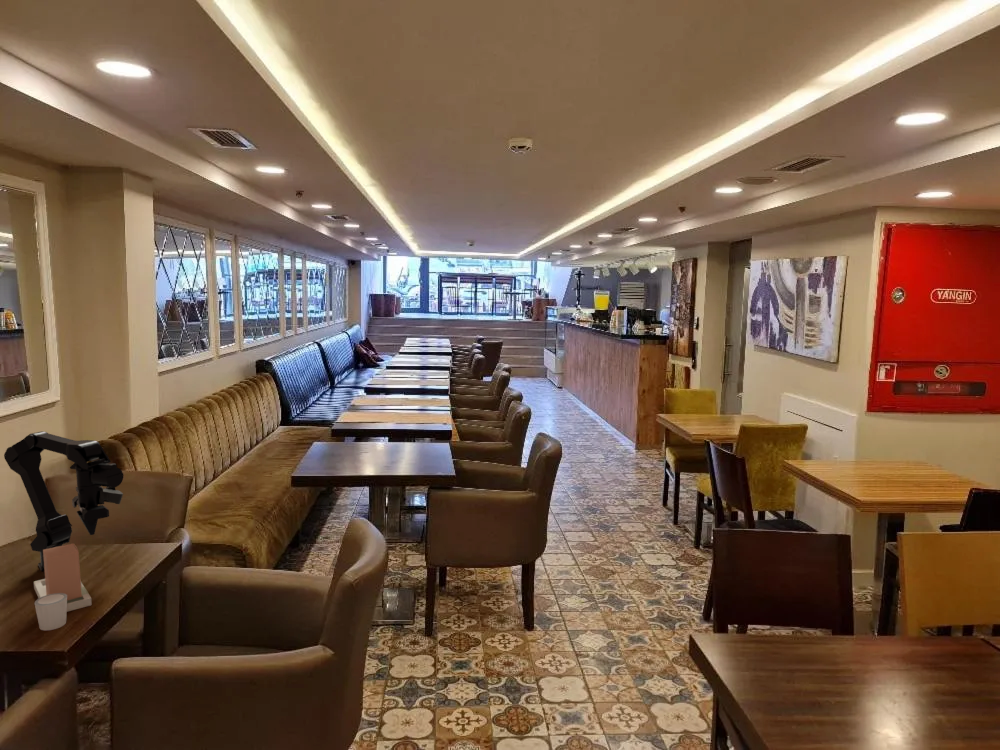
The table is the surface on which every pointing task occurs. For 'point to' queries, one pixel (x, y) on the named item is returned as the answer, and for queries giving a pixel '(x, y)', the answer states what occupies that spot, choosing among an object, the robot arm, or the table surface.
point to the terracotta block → (62, 571)
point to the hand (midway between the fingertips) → (92, 534)
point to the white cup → (51, 611)
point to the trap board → (71, 604)
